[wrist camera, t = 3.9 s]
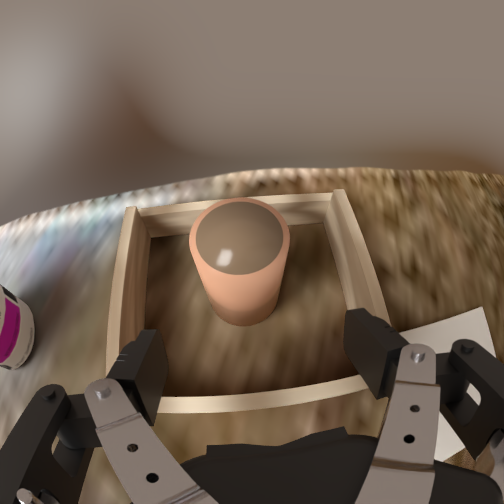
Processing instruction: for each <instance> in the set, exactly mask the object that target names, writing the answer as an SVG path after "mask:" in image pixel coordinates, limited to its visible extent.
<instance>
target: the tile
mask: <svg viewBox="0 0 504 504" xmlns="http://www.w3.org/2000/svg"><path fill="white" fill-rule="evenodd" d="M399 334H400V335H401V336H403V337H404V338H405V339H406V340H407V341H408V342H409V343H410V344H415V343H418V344H424V345H427V346H429V347H431V348H432V349H433V350H434V351H435V353H436V354H437V353H446V352H450V351H451V347H452V344H453V342H455V341H456V340H459V339H470V340H473V341H475V342H477V343H478V344H480V345H481V346H482V347H483V348H485V349H486V350H487V351H488V352H489V353H491V354H492V355H493V356H494V357H495V358H496V355H495V351H494V347H493V343H492V339H491V335H490V331H489V328H488V324H487V321H486V317H485V314H484V311H483V308H482V307H479V308H476V309H474V310H471V311H468V312H466V313H463V314H460V315H457V316H454V317H451V318H448V319H445V320H442V321H439V322H436V323H432V324H429V325H426V326H422V327H419V328H415V329H412V330H408V331H405V332H401V333H399ZM467 393H468V394H469V395H470V396H471V397H472V398H473V400H474V401H475V402H476V403H477V404H478V405H479V404H480V401H481V396H480V393H479V392H478V390H477V389H476V388H475V387H474V386H473V385H472V384H471V383H470V385H469V387H468V390H467ZM463 448H465V446H464V444H463V443H462V442H461V440H460V439H459V437H458V436H457V435H456V433H455V432H454V430H453V429H452V428H451V426H450V425H449V423H448V422H447V421H446V419H445V418H444V417H443V415H442V414H441V413H440V411H439V422H438V432H437V441H436V448H435V455H434V459H435V460H438V461H441V462H442V461H444V460H446V459H447V458H449V457H451V456H452V455H454V454H456V453H457V452H459V451H460V450H462V449H463Z"/></svg>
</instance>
